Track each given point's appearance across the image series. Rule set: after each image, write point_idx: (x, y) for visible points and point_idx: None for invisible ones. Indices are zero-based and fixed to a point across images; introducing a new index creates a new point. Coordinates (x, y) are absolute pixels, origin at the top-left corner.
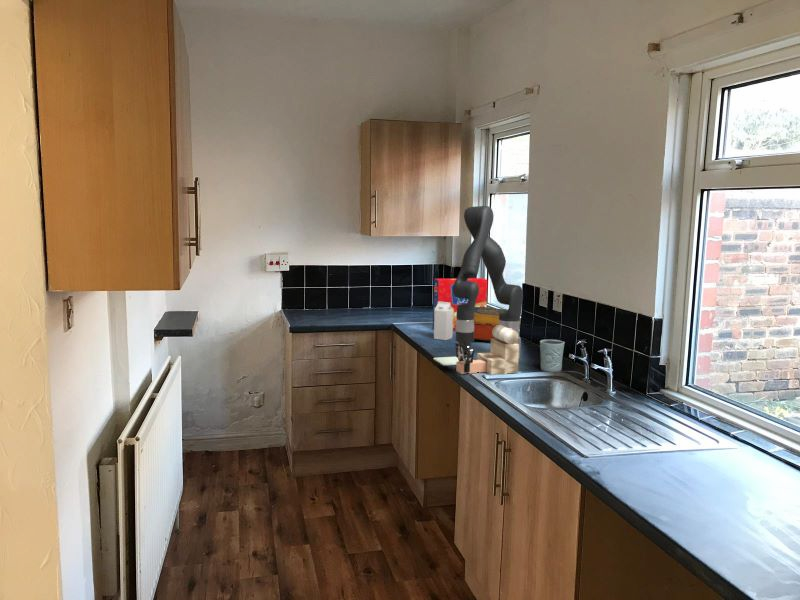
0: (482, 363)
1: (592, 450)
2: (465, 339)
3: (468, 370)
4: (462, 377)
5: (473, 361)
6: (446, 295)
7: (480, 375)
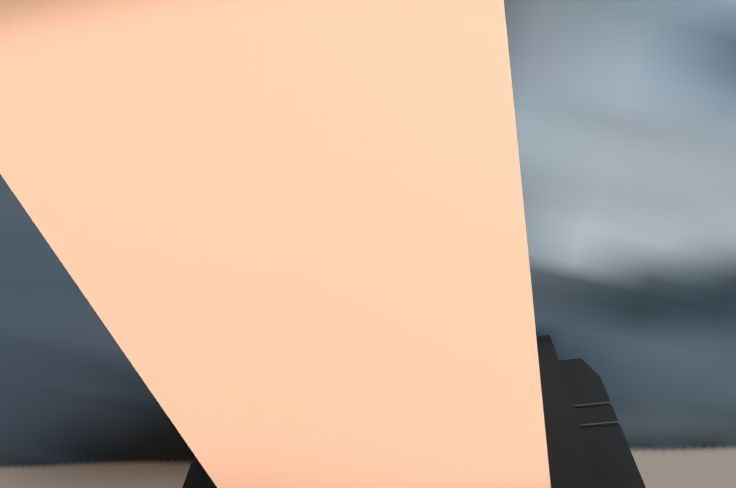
0: (501, 78)
1: None
2: None
3: (595, 390)
4: (727, 437)
5: (275, 350)
6: None
7: (728, 123)
